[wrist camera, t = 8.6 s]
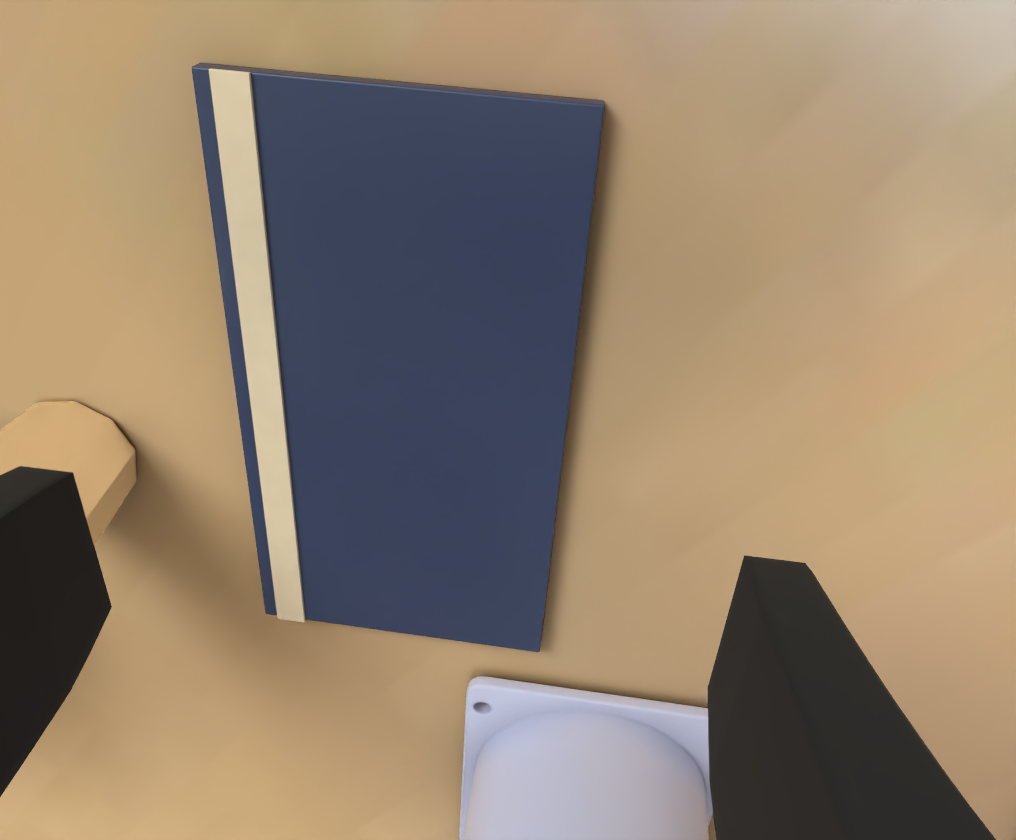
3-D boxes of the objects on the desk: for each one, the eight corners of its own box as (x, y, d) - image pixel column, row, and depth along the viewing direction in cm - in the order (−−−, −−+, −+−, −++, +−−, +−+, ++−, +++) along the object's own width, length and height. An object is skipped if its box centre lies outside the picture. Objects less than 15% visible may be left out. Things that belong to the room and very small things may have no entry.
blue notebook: (540, 642, 25) (539, 655, 24) (269, 604, 25) (263, 617, 25) (605, 99, 16) (604, 106, 16) (199, 62, 17) (188, 67, 17)
